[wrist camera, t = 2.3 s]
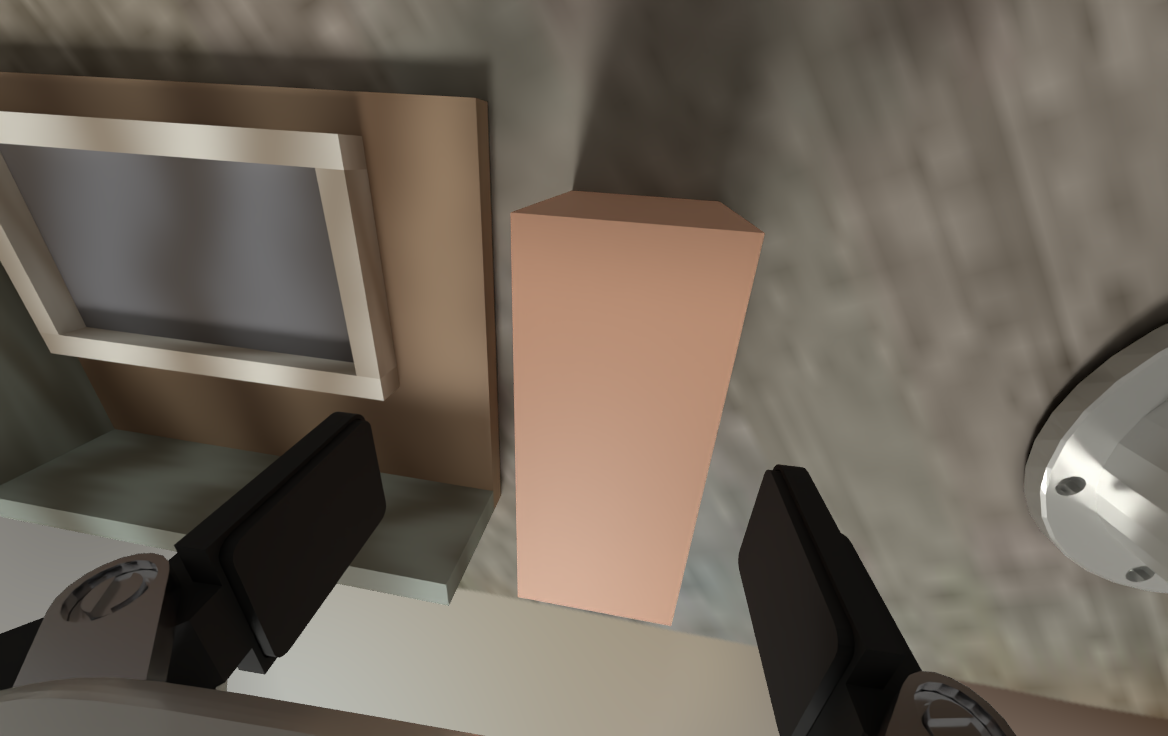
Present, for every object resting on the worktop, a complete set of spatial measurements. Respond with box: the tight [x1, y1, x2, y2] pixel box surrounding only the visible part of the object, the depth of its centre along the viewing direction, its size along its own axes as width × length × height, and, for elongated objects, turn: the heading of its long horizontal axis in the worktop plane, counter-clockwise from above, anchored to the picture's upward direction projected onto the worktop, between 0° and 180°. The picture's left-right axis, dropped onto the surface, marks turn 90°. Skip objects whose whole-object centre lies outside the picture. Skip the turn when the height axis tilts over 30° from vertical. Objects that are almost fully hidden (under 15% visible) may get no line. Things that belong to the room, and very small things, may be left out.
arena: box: [0, 72, 501, 606], centre depth 16 cm, size 22×17×6 cm
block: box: [511, 191, 765, 626], centre depth 14 cm, size 12×5×7 cm, turn 177°
